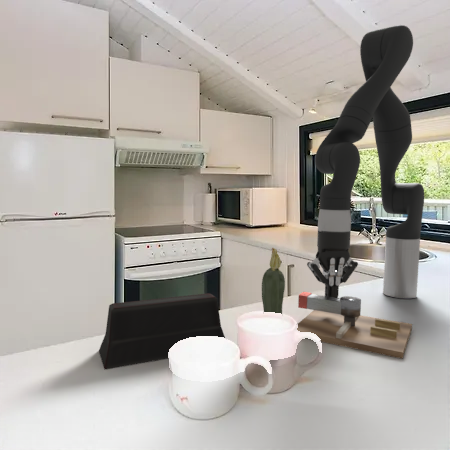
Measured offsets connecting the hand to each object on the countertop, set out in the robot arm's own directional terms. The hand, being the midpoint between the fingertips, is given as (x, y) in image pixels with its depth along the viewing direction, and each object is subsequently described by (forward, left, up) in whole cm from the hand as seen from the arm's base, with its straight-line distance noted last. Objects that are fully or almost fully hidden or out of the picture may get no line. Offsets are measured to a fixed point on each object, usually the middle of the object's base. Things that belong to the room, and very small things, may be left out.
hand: (331, 300), depth 94 cm
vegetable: (+25, -4, -5) cm, 26 cm away
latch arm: (+5, +1, -1) cm, 6 cm away
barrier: (+35, -22, -5) cm, 42 cm away
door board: (+6, +7, -5) cm, 10 cm away
